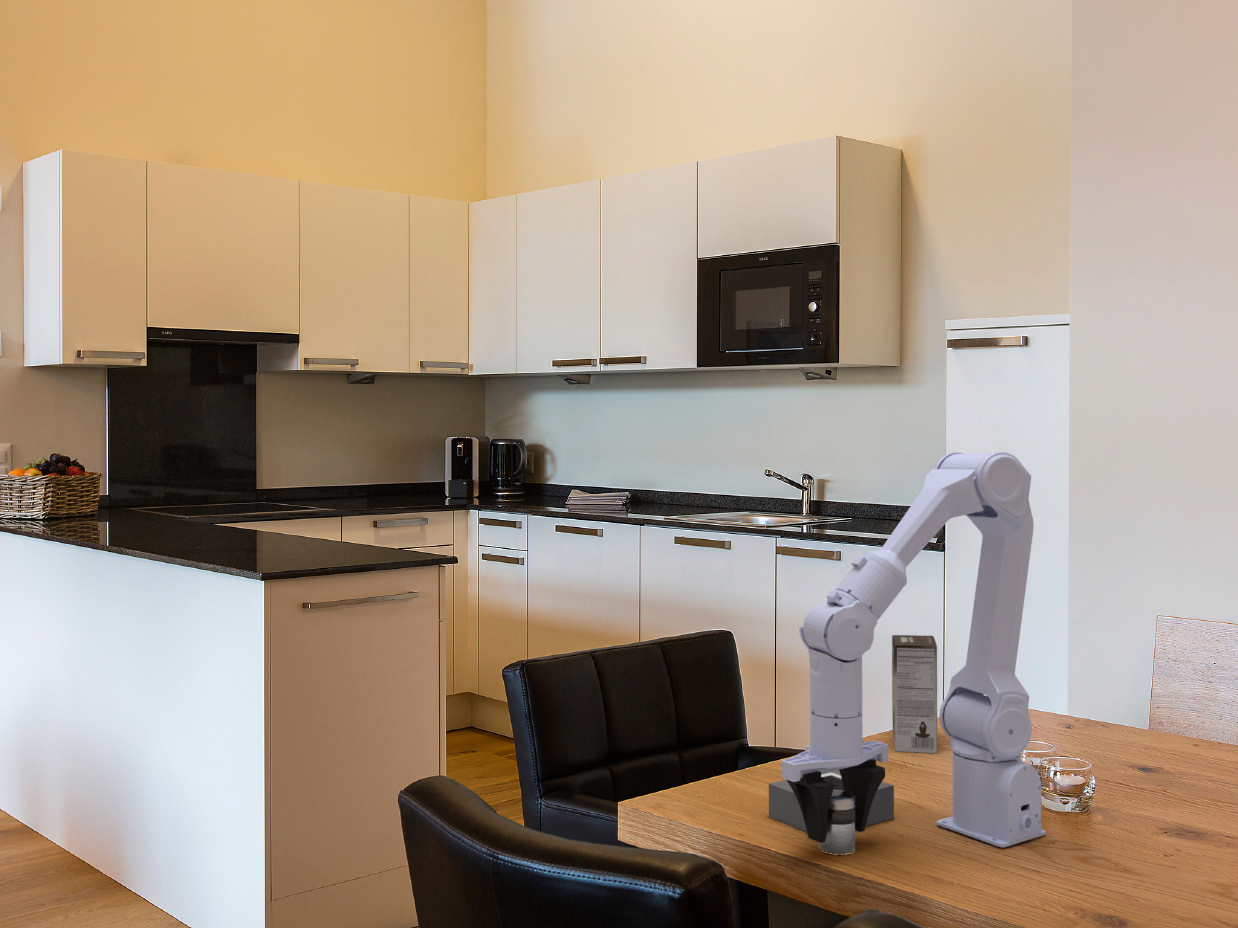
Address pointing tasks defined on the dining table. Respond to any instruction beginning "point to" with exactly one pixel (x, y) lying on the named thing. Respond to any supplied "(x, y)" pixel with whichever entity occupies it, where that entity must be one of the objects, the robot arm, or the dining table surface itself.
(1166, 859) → the dining table surface
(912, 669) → the coffee box
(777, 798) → the grey hollow block
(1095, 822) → the dining table surface
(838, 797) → the lens
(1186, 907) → the dining table surface
